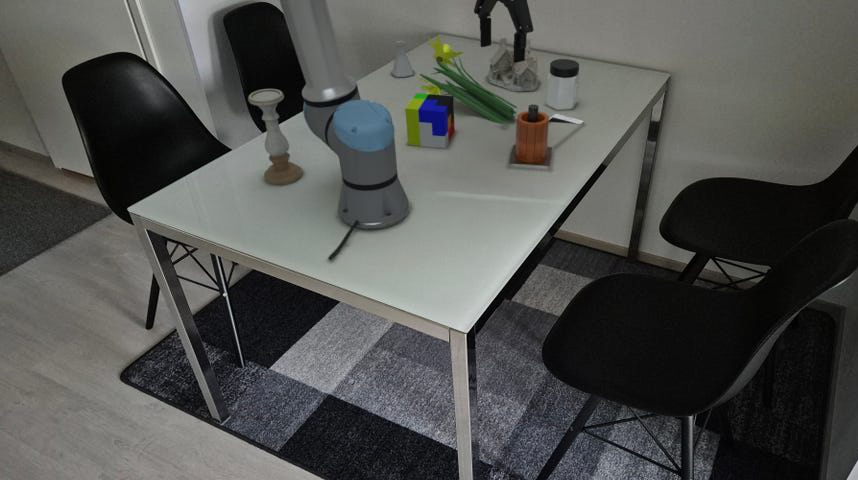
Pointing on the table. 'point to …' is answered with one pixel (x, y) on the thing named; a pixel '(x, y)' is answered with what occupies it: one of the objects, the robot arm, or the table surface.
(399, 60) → the flask
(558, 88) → the jar
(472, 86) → the daffodil flowers
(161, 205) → the table surface
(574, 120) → the cell phone
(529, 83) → the ceramic cottage
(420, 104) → the puzzle toy
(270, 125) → the candle holder
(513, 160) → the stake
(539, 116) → the orange hollow cylinder
